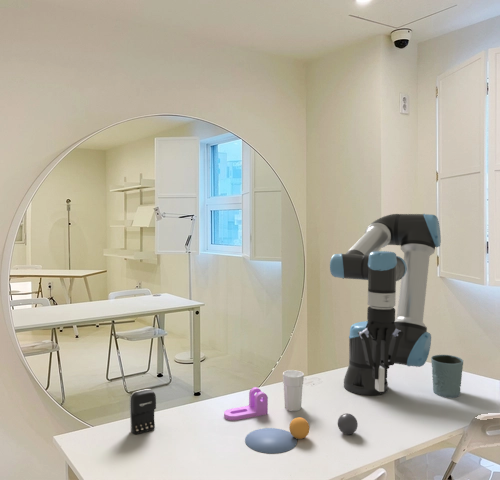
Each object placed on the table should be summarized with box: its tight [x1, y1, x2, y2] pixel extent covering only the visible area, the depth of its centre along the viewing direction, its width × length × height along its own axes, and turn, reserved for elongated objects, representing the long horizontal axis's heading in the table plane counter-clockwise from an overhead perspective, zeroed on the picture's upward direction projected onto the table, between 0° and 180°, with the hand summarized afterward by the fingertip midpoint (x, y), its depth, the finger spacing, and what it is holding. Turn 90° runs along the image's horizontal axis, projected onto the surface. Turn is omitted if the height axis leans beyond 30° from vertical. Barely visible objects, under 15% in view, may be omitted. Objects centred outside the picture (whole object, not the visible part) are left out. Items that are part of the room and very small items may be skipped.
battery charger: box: [129, 388, 157, 435], centre depth 135 cm, size 7×4×11 cm, turn 124°
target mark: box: [244, 427, 298, 454], centre depth 130 cm, size 14×14×1 cm
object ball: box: [288, 416, 310, 440], centre depth 132 cm, size 6×6×6 cm
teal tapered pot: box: [430, 354, 464, 399], centre depth 164 cm, size 10×10×12 cm
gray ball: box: [337, 413, 359, 435], centre depth 134 cm, size 6×6×6 cm
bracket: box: [223, 386, 269, 421], centre depth 147 cm, size 13×6×7 cm, turn 114°
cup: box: [282, 369, 305, 412], centre depth 152 cm, size 7×7×11 cm
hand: (379, 389), depth 135 cm, fingers closed
